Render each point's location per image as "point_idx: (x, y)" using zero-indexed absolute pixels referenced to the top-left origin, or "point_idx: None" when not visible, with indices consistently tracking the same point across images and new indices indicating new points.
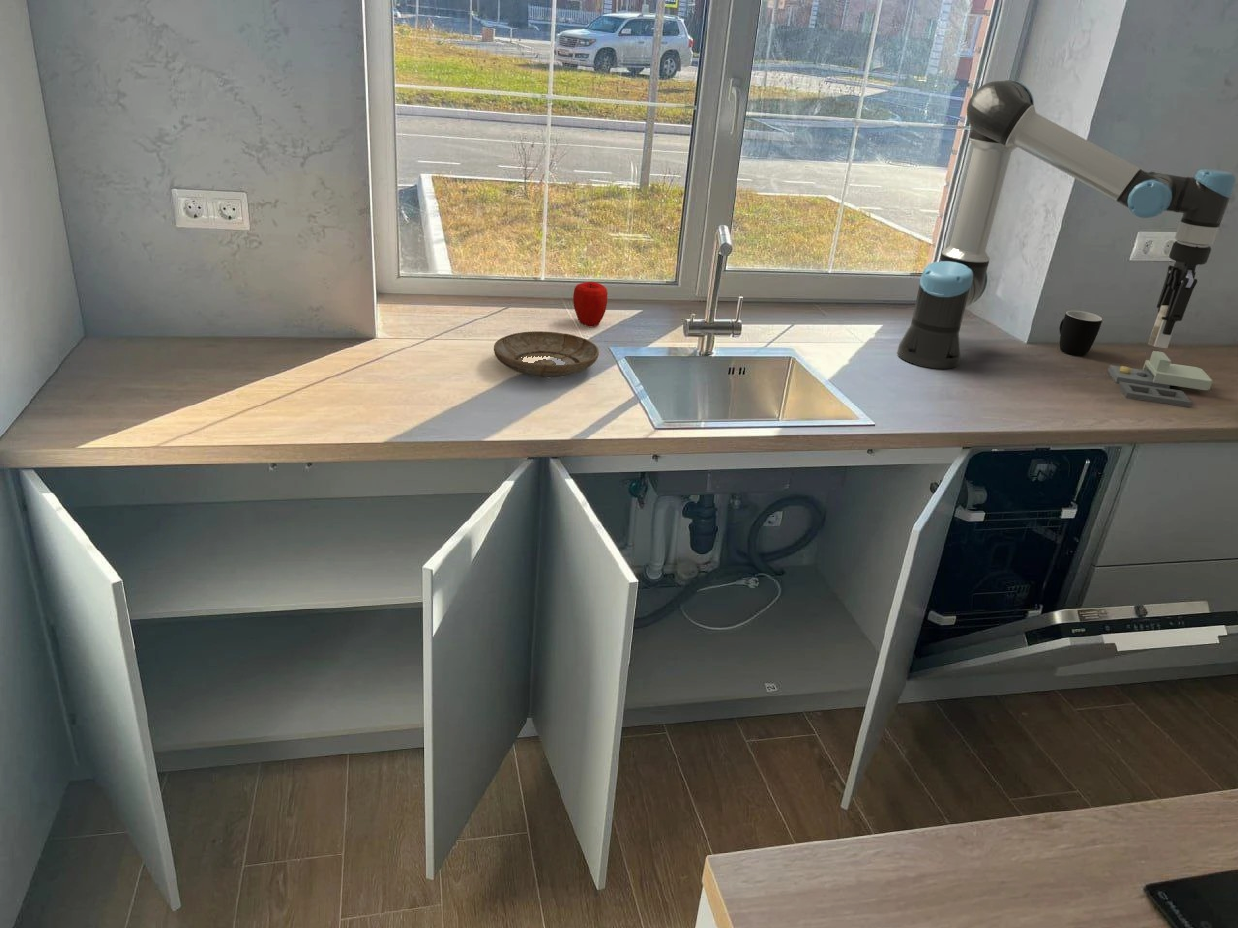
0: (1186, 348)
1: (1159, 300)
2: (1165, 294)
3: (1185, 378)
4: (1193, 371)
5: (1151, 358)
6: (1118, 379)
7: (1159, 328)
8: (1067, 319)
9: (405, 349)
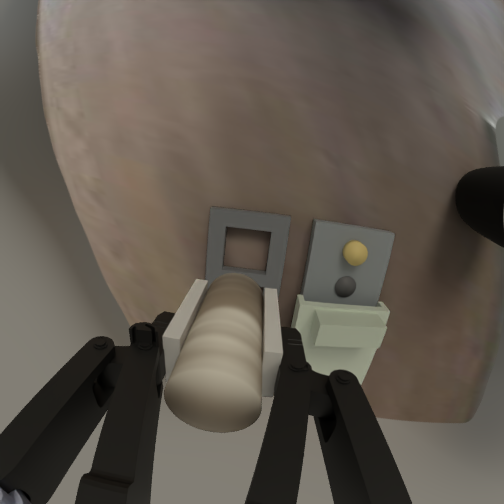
0: (473, 388)
1: (353, 399)
2: (288, 447)
3: None
4: None
5: (373, 318)
6: (314, 223)
7: (199, 314)
8: None
9: None
